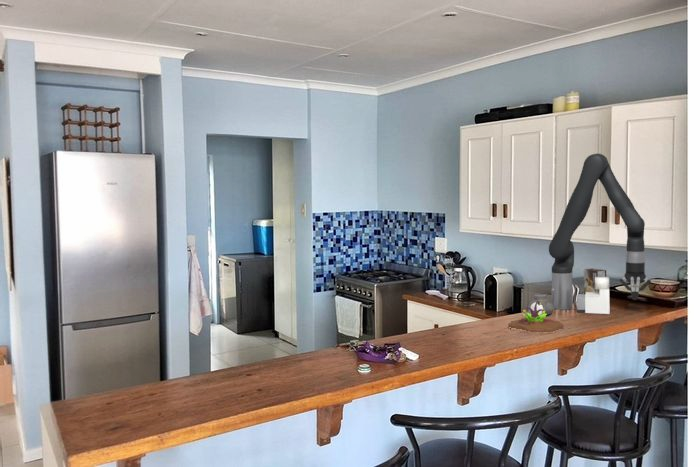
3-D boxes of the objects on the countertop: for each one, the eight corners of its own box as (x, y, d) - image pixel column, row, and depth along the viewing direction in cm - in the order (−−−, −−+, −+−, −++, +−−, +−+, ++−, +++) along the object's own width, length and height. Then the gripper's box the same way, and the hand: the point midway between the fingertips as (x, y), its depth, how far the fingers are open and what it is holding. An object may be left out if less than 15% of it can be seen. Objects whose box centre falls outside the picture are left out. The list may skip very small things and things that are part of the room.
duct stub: (577, 312, 262) (577, 296, 261) (577, 310, 267) (577, 294, 267) (598, 313, 258) (598, 297, 258) (598, 311, 263) (598, 294, 263)
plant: (572, 329, 233) (571, 302, 233) (539, 337, 223) (539, 308, 222) (533, 321, 250) (532, 295, 250) (501, 328, 240) (500, 301, 240)
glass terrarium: (544, 319, 250) (543, 295, 251) (527, 318, 256) (526, 295, 257) (557, 317, 258) (556, 294, 259) (541, 316, 264) (540, 294, 265)
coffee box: (607, 302, 282) (607, 270, 281) (598, 303, 280) (597, 271, 279) (592, 299, 291) (592, 268, 290) (583, 300, 288) (583, 269, 287)
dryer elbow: (585, 312, 259) (584, 278, 258) (586, 309, 267) (585, 275, 266) (609, 314, 255) (609, 279, 254) (609, 310, 263) (609, 276, 262)
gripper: (618, 261, 252) (618, 300, 254) (652, 262, 247) (652, 302, 248) (618, 259, 259) (618, 297, 261) (651, 260, 254) (650, 299, 255)
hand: (634, 299), depth 254 cm, fingers closed
